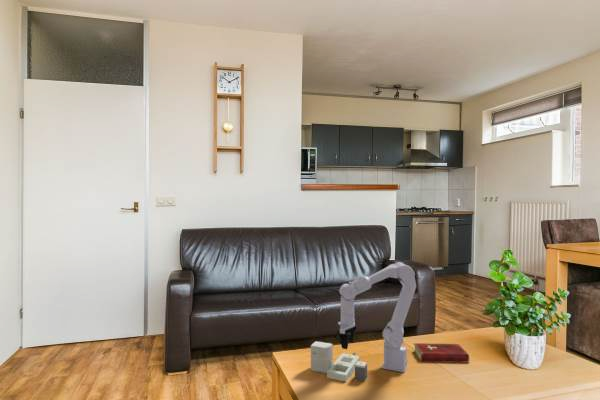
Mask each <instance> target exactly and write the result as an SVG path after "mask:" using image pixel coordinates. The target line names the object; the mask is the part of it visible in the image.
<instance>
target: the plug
mask: <svg viewBox="0 0 600 400" xmlns="http://www.w3.org/2000/svg"><path fill="white" fill-rule="evenodd" d="M367 379H368V364H367V362H365V361H361V360H360V361H357V363H356V364H355V370H354V380H355V381H359V382H360V381H361V382H366V381H367Z"/></svg>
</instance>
